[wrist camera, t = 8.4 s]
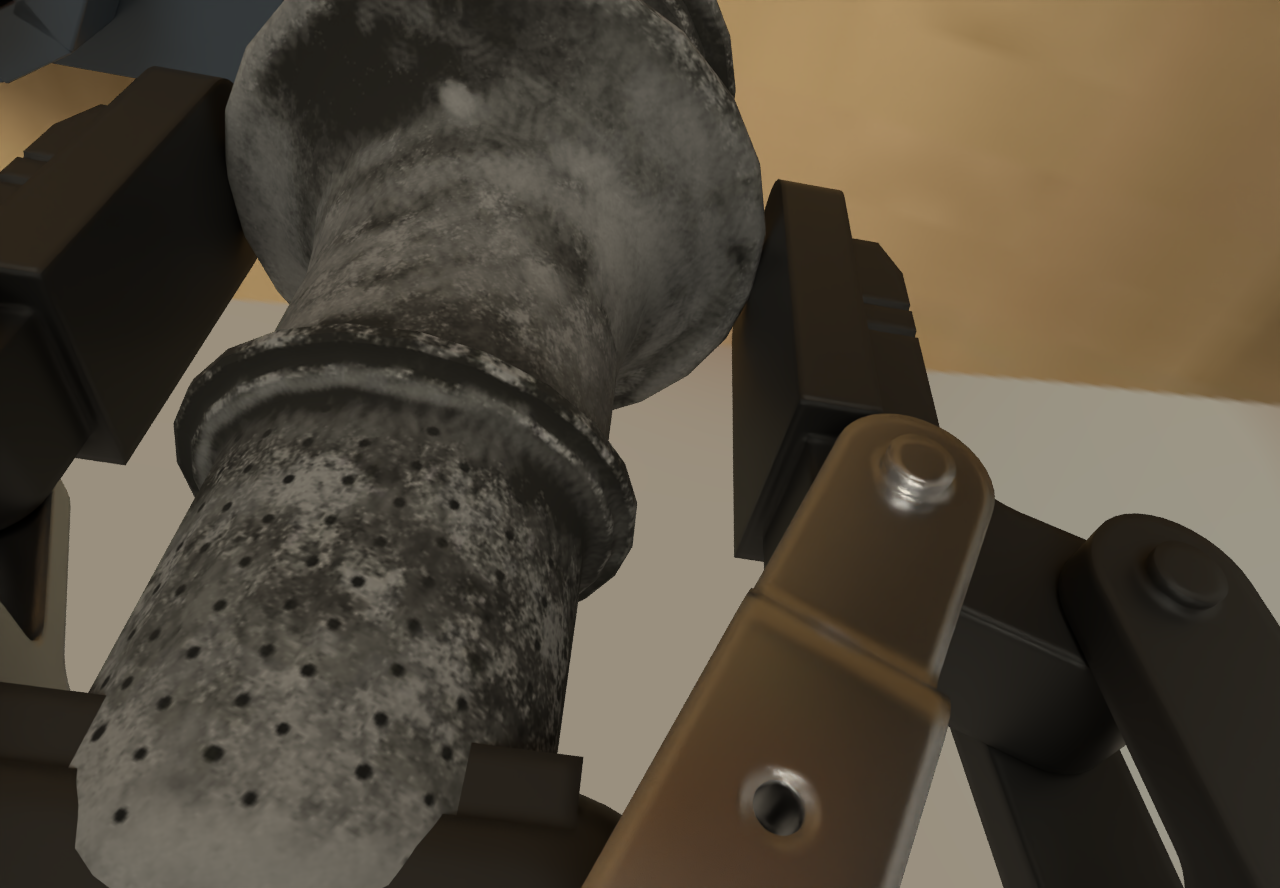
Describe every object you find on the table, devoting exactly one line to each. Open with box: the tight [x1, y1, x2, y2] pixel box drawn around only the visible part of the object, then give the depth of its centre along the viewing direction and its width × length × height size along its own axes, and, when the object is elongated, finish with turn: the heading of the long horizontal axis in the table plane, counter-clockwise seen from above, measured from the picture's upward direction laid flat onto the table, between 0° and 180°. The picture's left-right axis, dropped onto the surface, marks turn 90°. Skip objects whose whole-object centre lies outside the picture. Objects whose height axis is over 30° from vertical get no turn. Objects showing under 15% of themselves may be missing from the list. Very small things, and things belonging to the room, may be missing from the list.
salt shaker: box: [68, 0, 766, 888], centre depth 8 cm, size 6×6×12 cm
